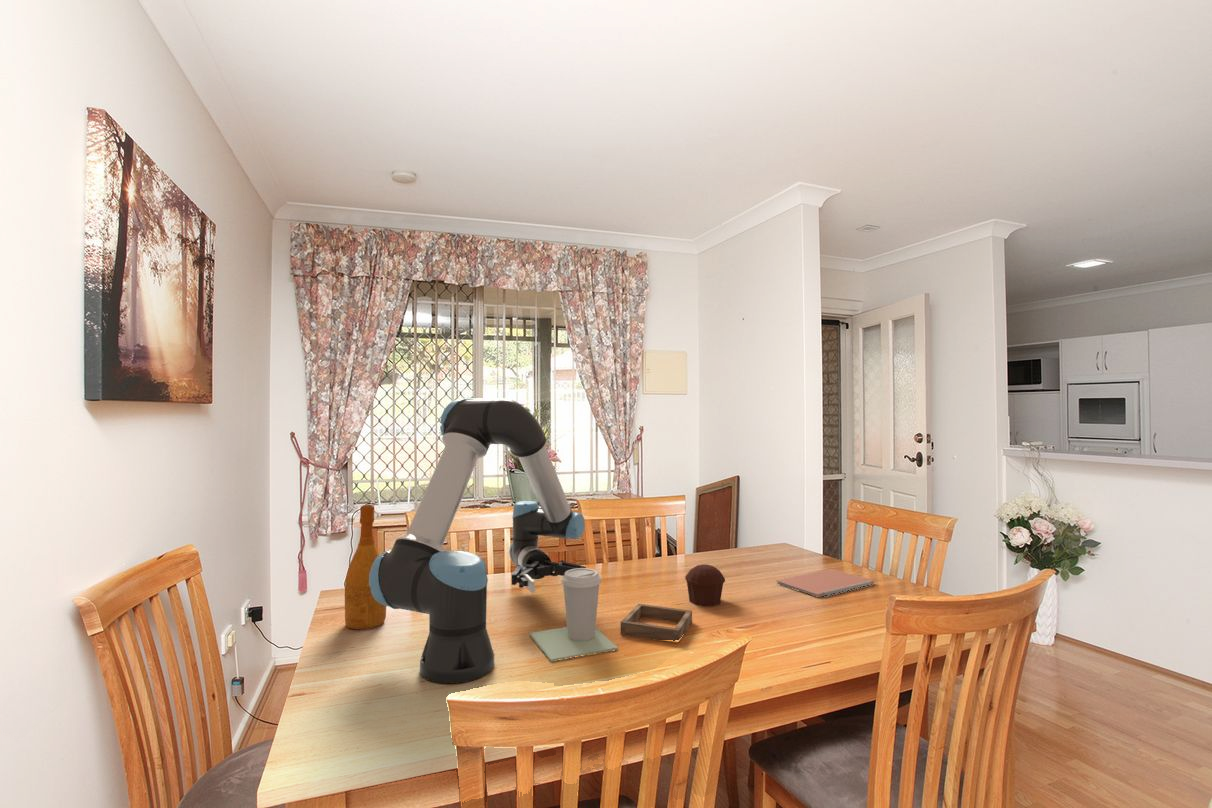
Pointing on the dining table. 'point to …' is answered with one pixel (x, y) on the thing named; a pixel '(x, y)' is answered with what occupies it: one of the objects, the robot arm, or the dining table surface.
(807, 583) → the notebook
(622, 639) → the dining table surface
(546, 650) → the mat
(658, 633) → the square tray
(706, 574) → the muffin
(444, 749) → the dining table surface
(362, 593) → the wine bottle
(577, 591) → the coffee cup
